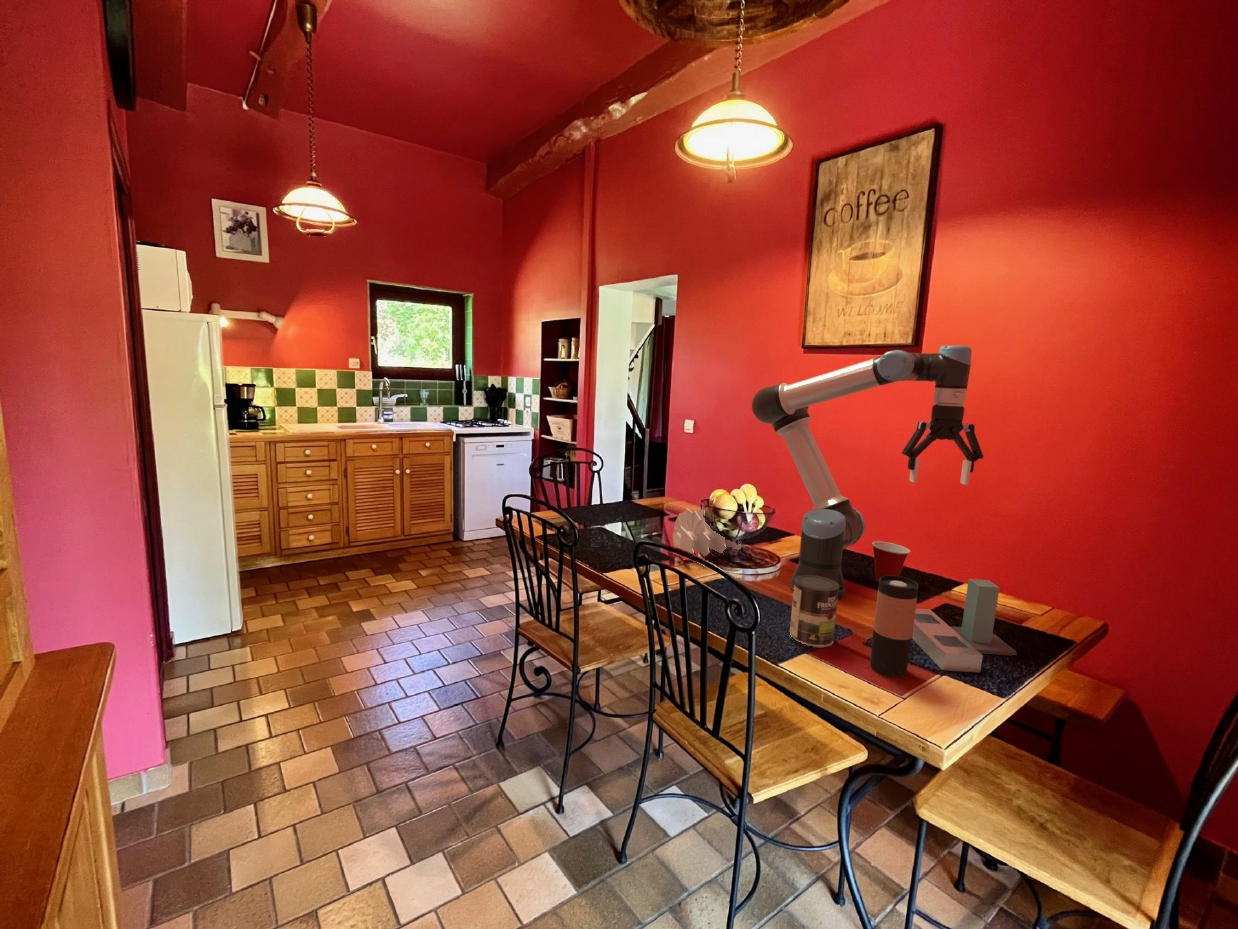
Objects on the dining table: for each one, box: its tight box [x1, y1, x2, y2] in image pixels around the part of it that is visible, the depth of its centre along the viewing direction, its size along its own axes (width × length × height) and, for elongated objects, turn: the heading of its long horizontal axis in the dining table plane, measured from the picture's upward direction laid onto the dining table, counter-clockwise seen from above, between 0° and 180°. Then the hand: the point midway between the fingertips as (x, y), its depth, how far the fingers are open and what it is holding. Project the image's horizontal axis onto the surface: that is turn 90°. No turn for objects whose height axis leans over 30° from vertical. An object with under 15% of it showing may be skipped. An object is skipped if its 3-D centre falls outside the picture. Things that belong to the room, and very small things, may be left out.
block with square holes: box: [912, 608, 984, 673], centre depth 135 cm, size 8×24×4 cm, turn 177°
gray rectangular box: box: [961, 578, 1000, 643], centre depth 137 cm, size 5×5×14 cm
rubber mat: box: [950, 626, 1018, 656], centre depth 138 cm, size 12×12×1 cm
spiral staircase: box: [671, 507, 742, 557], centre depth 192 cm, size 18×18×25 cm
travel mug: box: [869, 575, 919, 678], centre depth 122 cm, size 8×8×20 cm
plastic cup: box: [871, 540, 911, 583], centre depth 175 cm, size 11×11×12 cm
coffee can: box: [789, 575, 840, 649], centre depth 136 cm, size 10×10×14 cm
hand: (938, 483), depth 155 cm, fingers open, 13 cm apart
